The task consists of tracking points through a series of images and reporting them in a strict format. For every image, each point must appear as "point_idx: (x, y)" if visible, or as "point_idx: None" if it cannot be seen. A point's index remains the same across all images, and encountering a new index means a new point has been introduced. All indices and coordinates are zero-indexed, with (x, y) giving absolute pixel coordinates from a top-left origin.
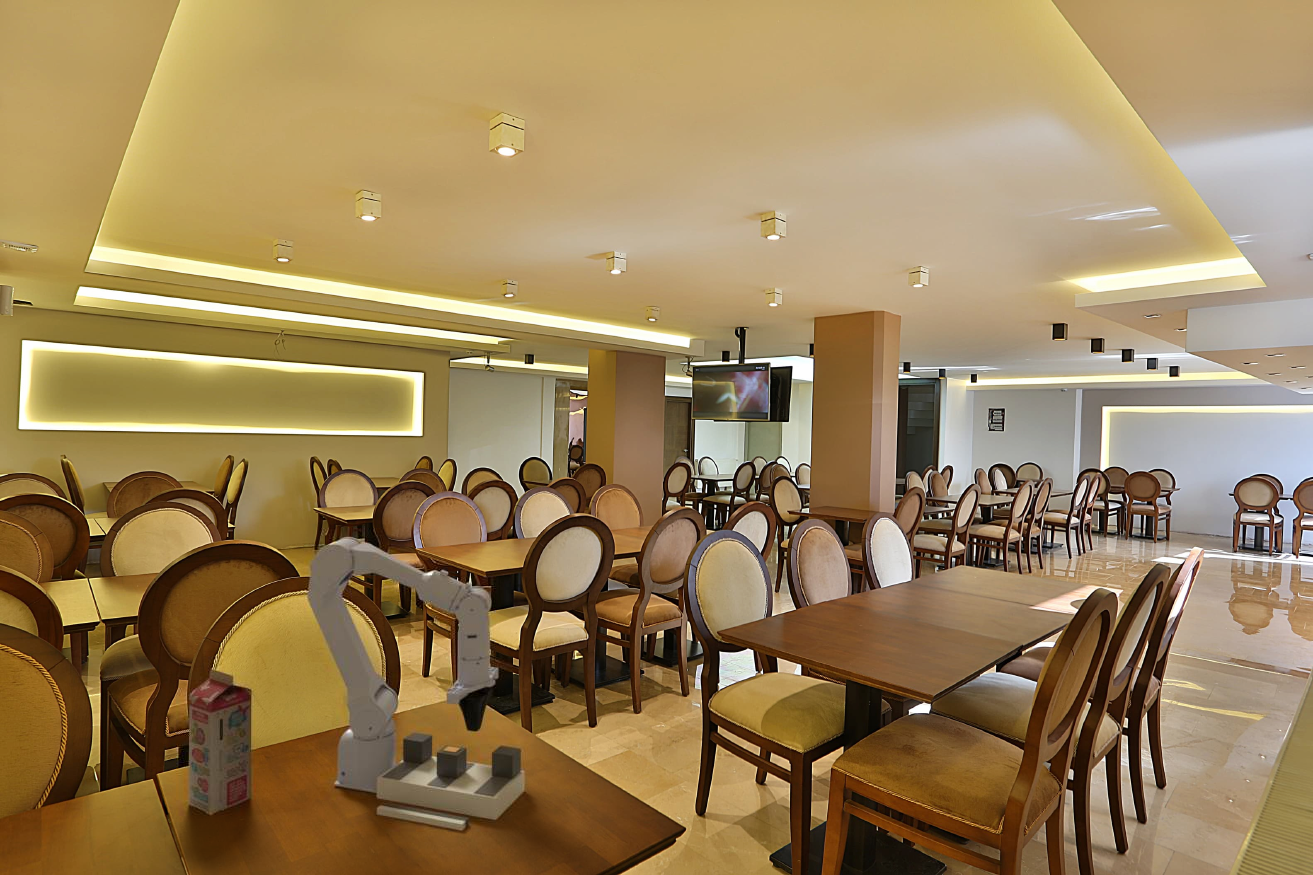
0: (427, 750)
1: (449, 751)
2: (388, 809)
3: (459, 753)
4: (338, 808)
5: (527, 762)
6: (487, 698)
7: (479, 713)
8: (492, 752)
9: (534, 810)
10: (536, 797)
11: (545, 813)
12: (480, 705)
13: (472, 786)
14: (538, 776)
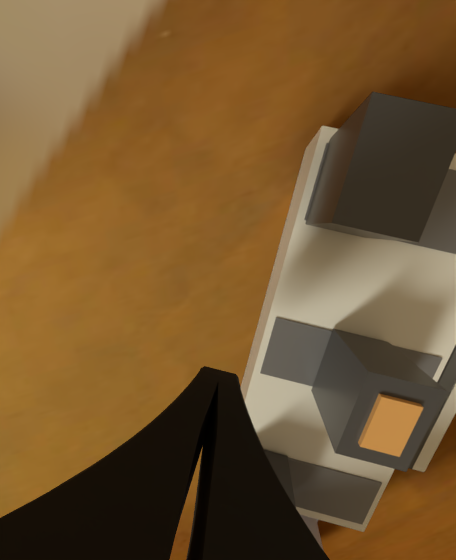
0: None
1: (410, 429)
2: (431, 448)
3: (423, 385)
4: (385, 527)
5: (138, 190)
6: (114, 518)
7: (241, 443)
8: (415, 240)
9: (424, 80)
10: (344, 98)
11: (446, 35)
12: (269, 523)
13: (435, 279)
14: (217, 130)
